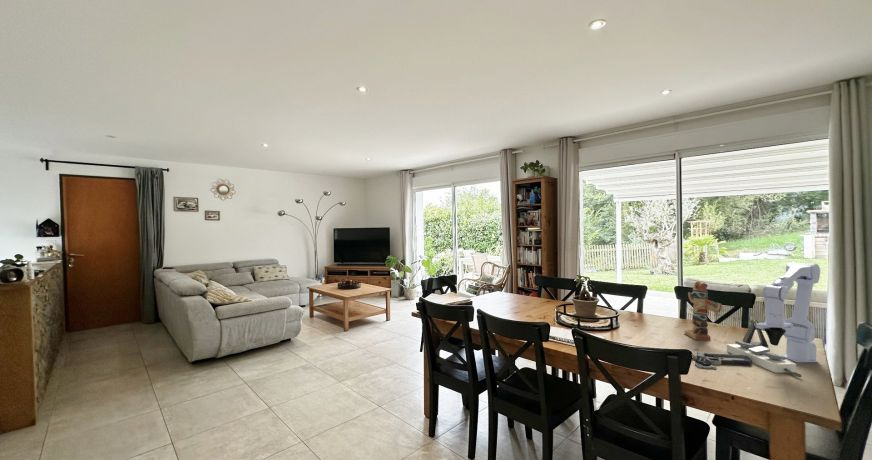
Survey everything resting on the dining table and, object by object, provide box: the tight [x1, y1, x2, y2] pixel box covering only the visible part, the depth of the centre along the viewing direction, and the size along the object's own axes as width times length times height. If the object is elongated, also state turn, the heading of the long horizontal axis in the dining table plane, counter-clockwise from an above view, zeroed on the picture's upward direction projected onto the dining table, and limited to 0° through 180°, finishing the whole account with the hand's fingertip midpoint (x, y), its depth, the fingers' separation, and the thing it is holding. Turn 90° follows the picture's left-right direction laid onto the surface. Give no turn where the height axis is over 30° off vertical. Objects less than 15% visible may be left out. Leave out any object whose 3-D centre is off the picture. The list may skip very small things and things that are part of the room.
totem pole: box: [684, 280, 723, 342], centre depth 194 cm, size 29×7×30 cm, turn 172°
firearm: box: [692, 351, 752, 370], centre depth 159 cm, size 3×24×15 cm
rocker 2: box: [748, 346, 771, 354], centre depth 161 cm, size 6×4×1 cm, turn 91°
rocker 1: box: [734, 340, 756, 348], centre depth 168 cm, size 6×4×1 cm, turn 92°
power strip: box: [726, 343, 802, 378], centre depth 159 cm, size 9×30×4 cm, turn 1°
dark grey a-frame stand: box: [742, 319, 769, 348], centre depth 183 cm, size 9×6×12 cm, turn 59°
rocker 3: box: [763, 352, 786, 360], centre depth 154 cm, size 6×4×1 cm, turn 92°
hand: (774, 344), depth 154 cm, fingers closed
